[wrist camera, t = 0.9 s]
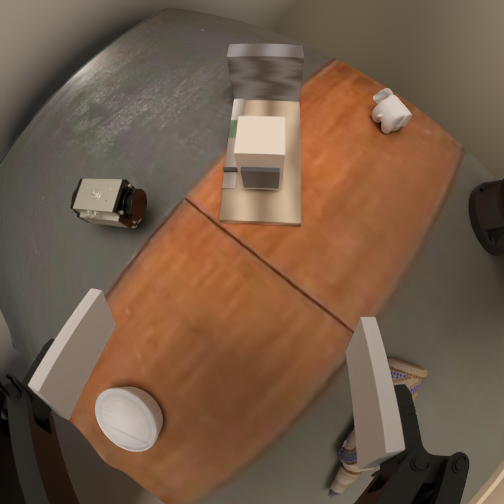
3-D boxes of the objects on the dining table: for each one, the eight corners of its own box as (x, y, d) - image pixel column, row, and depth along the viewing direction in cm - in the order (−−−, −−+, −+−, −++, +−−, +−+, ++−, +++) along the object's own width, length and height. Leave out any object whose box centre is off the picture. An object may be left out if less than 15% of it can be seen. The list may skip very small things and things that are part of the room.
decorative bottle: (380, 352, 36) (399, 358, 29) (416, 364, 35) (437, 371, 28) (306, 483, 31) (311, 505, 25) (343, 489, 30) (352, 510, 24)
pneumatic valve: (108, 203, 44) (69, 175, 32) (163, 208, 43) (131, 175, 31) (99, 232, 43) (57, 210, 31) (155, 241, 41) (118, 216, 30)
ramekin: (126, 442, 35) (112, 453, 29) (101, 386, 37) (84, 393, 32) (179, 435, 35) (169, 449, 30) (152, 375, 37) (138, 382, 32)
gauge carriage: (282, 149, 41) (285, 108, 32) (281, 193, 40) (285, 159, 30) (227, 147, 42) (217, 108, 32) (221, 191, 40) (208, 157, 31)
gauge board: (298, 93, 46) (302, 45, 34) (300, 226, 40) (312, 192, 28) (237, 91, 47) (229, 44, 35) (220, 222, 41) (201, 188, 29)
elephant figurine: (414, 132, 43) (428, 111, 36) (382, 143, 43) (395, 121, 36) (391, 104, 45) (402, 83, 38) (358, 114, 45) (368, 90, 38)
